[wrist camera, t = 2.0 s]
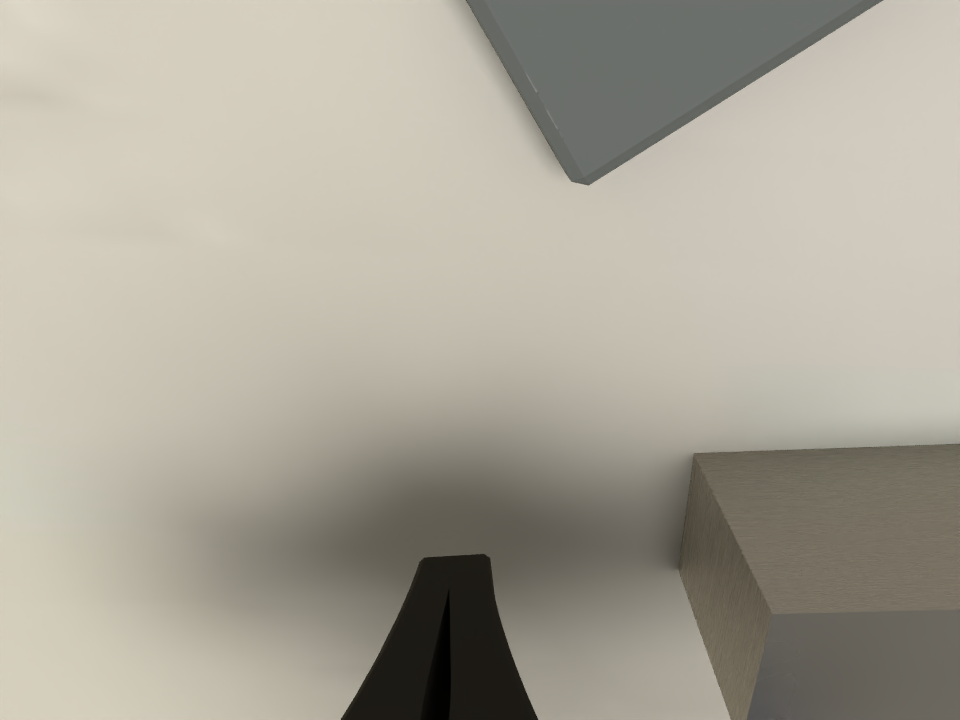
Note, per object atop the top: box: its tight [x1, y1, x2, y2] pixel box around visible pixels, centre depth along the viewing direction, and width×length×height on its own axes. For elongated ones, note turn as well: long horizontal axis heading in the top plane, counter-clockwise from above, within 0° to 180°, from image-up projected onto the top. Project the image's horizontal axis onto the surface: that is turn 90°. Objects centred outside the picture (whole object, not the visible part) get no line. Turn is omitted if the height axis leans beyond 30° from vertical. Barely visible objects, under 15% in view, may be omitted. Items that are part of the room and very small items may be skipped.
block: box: [679, 444, 960, 720], centre depth 12 cm, size 3×8×4 cm, turn 93°
